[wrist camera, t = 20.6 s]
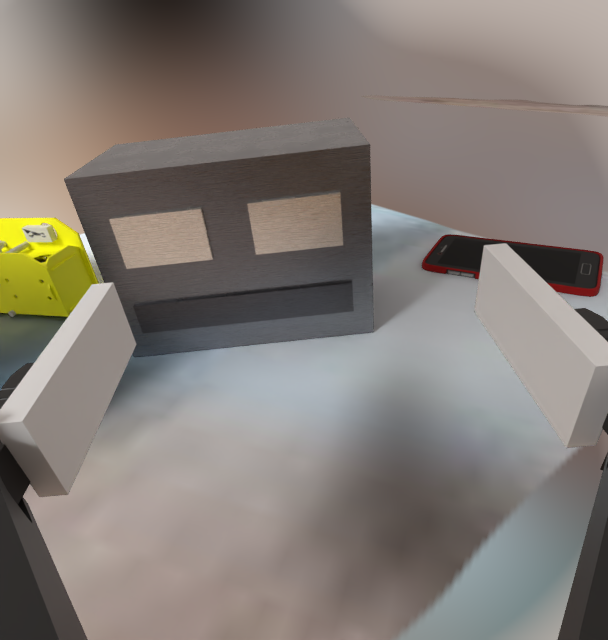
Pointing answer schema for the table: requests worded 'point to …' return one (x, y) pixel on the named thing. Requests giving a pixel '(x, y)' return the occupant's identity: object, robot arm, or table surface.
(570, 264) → the cell phone
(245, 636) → the table surface
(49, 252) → the yellow toy chassis
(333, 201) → the box
